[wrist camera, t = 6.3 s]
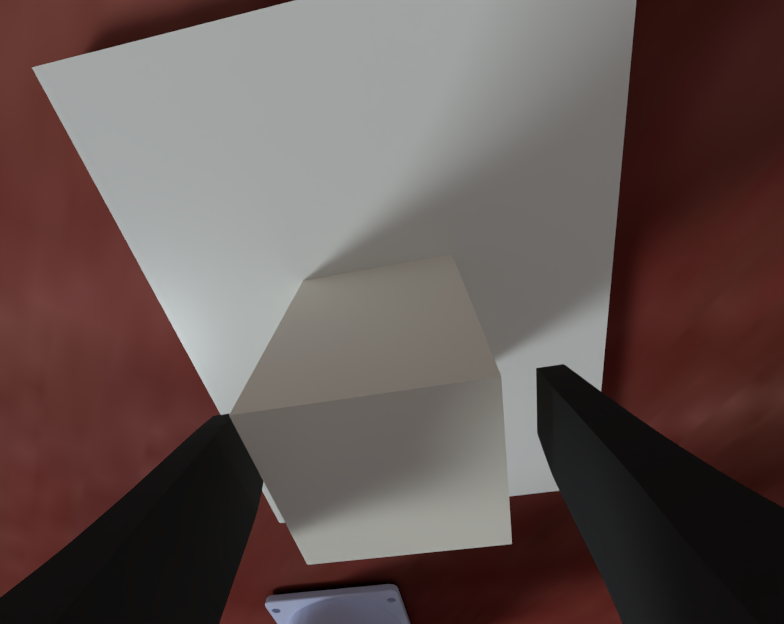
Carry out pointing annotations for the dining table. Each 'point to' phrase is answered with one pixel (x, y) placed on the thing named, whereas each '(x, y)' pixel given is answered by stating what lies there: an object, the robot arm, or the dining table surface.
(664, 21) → the dining table surface
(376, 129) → the light gray slab
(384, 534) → the cream rectangular prism
